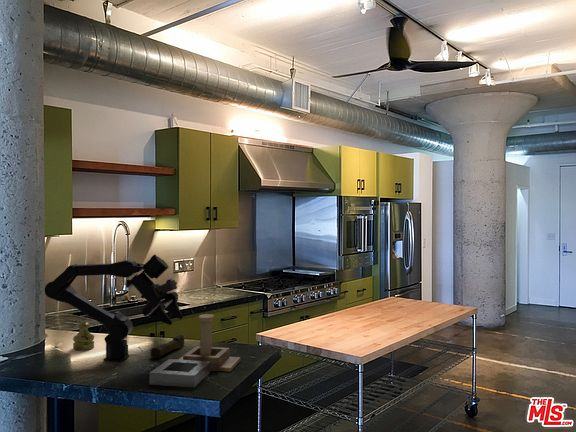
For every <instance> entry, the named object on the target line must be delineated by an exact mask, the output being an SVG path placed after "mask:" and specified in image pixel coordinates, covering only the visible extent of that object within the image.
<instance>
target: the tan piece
mask: <svg viewBox="0 0 576 432" xmlns="http://www.w3.org/2000/svg"><path fill="white" fill-rule="evenodd" d="M241 358H242V357H239V356H230V347H217V346H216V347H215V346H212V349H211V355H210V356H205V355H201V354H200V345H196V346H195V347H193V348H192V349H190V350H189V351H188V352H186V353H184V355H183V356H181V357H180V358H178V359H177V360H193V361H210V371H214V372H215V371H216V372H232V370H233V369H234V368H236V366H238V364H239V363H241V361H242V359H241Z"/></svg>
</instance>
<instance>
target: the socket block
mask: <svg viewBox="0 0 576 432" xmlns="http://www.w3.org/2000/svg"><path fill="white" fill-rule="evenodd" d="M210 373H211V370H210V361H193V360H178V359H176V358H175V359H173V358H168V359H167V360H165V361H164V362H163V363H161V364H160V365H158V366H157V367H156V368H154V369H153V370H151V371H149V385H153V386H164V387H165V386H167V387H181V388H193V389H194V388H196V387H197V386H198V385H199V384H200V383H201V382H202V381H203V380H204V379H205V378H206V377H207V376H208V375H210Z"/></svg>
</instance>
